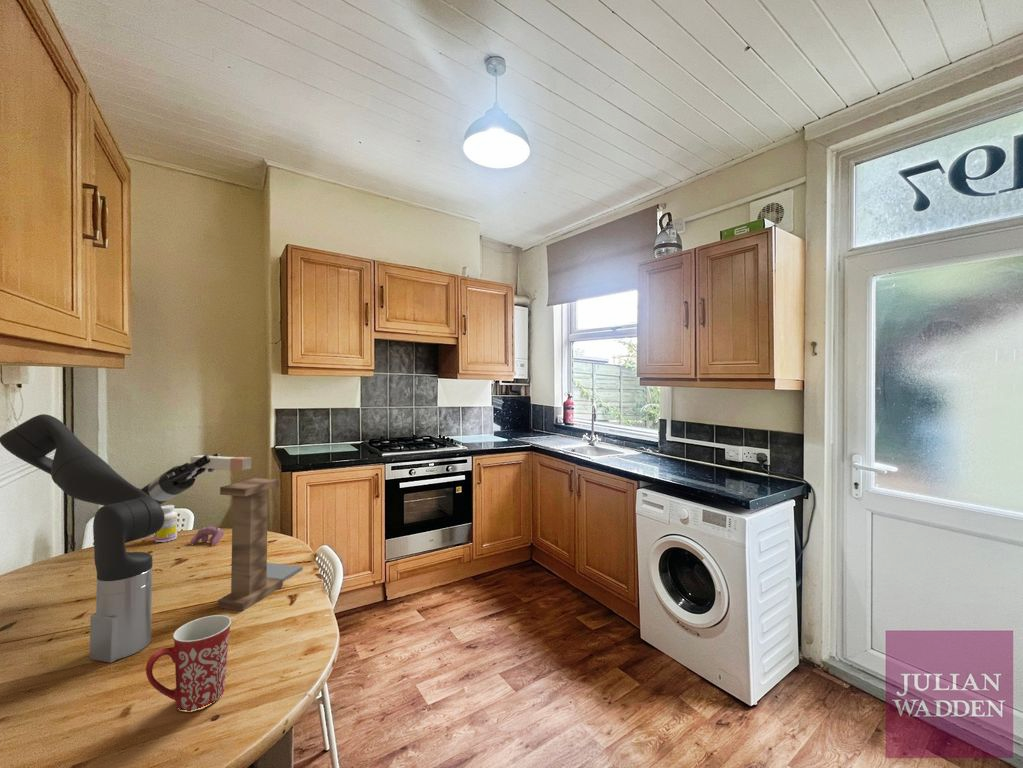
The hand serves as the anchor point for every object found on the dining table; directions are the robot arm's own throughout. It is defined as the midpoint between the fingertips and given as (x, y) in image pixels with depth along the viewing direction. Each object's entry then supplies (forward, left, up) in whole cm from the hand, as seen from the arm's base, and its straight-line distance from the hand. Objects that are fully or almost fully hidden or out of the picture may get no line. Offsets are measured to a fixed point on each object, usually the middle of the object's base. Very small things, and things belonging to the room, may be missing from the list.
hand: (213, 457), depth 120 cm
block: (0, -3, -3) cm, 4 cm away
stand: (0, -13, -39) cm, 41 cm away
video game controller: (+30, +35, -39) cm, 60 cm away
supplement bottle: (+29, +53, -39) cm, 72 cm away
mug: (-36, -35, -39) cm, 64 cm away
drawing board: (+13, -8, -39) cm, 42 cm away
